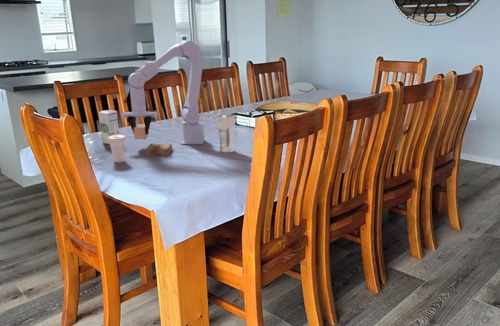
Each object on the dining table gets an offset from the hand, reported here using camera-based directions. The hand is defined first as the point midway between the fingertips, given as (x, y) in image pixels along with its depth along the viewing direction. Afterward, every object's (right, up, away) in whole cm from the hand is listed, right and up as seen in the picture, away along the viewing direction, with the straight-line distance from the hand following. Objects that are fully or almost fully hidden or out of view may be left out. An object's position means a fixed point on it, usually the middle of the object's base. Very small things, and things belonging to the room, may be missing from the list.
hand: (141, 133), depth 184 cm
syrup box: (-16, -4, +10) cm, 19 cm away
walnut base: (+9, -8, -5) cm, 13 cm away
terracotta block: (0, -2, +1) cm, 2 cm away
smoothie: (-5, -12, -16) cm, 21 cm away
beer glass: (+37, -8, -4) cm, 38 cm away
